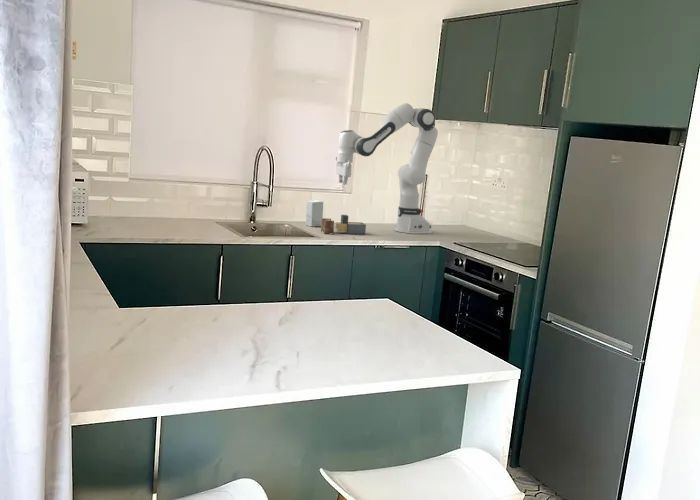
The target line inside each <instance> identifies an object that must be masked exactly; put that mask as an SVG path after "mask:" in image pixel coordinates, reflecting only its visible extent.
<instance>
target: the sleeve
mask: <svg viewBox="0 0 700 500" xmlns="http://www.w3.org/2000/svg"><path fill="white" fill-rule="evenodd" d="M348 223H361V224H348V232H345V233H346V234H347V235H357V234H359V235H360V236H361V235H363V236H364V235H366V232H367V230H366V228H367V224H365V223H363V222H355V221H352V222H351V221H348ZM359 235H358V236H359Z"/></svg>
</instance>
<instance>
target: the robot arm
mask: <svg viewBox="0 0 700 500" xmlns="http://www.w3.org/2000/svg"><path fill="white" fill-rule="evenodd" d="M381 124H382V126H381V127H380V128H379V129H378V130H376V131H375V132H374V133H373V134H372V135H370V136H368V137H363V136H361V135H359V134H358V133H356V132H355V131H354V130H353V129H351V130H349V129H346V130H342V131H341V132H340V133H339V137H338V144H337V145H338V150H337V155H336V157H335V161H336V170H335V171H336V174H337V175H338V183H340V184H343V185H345V186H347V183H348V179H349V178H351V176H352V163H353V159H354V154H357V155H360V156H361V157H370V156H371V155H373V154H374V152H375V151H376V149H377V147H378V146H379V145H380V144H382V143H383V142H384V141H385V140H386V139H387V138H389V137H390V136H391V135H393V134H394V133H396V132H397V131H399V130H400V129H402V128H403V127H404V126H406V125H407V124H409V125H410V126H412V127H415V128H418V134H417V136H416V139H415V141H414V144H413V146H412V149H411V151H410V159H409V163H407V164H404V165H401V166H400V167H399V168H398V170H397V176H398V180H399V181H398V183H399V206H398V207H397V208H398V209H397V220H396V221H397V222H396V225H395V227H394V231H396V232H400V233H406V234H409V235H410V234H411V235H412V234H414V235H415V234H417V235H420V234H422V235H423V234H425V235H426V234H431V235H432V234H433V230H432V229H430V223H429V221H428V220H427V219H426V218H425V217H424V216H423V215H422V214H423V213H424V212H425V211H424V210H423V209H422V208H421V209H420V208H419V201H420V193H419V189H418V185H421V184H423V183H424V181H425V180H426V177H427V174H426V172H427V167H428V163H429V159H430V157H431V154H432V152H433V149H434V147H435V145H436V142H437V140H438V139H437V138H438V134H439V132H438V131H439V130H438V129H437V128H436V127H435V126H436V114H435V112H434V111H432V110H431V109H430V108H421V107H420V108H414V107H413V106H412V105H411V104H409V103H402V104H400V105H398V106H397V107H395V108H393V109H392V110H391V111H389V112H388V113H387V114H386V115H384V117H383V118H382V122H381Z"/></svg>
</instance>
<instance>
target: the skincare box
mask: <svg viewBox="0 0 700 500" xmlns="http://www.w3.org/2000/svg"><path fill="white" fill-rule="evenodd" d="M305 212H306V214H305V215H306V216H305V226H307V225H308V227H310V226H315V227H321V223H322V218H324V217H323V216H324V215H323V214H324V201H322V200H319V199H315V200H306V211H305Z"/></svg>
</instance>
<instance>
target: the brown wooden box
mask: <svg viewBox="0 0 700 500" xmlns="http://www.w3.org/2000/svg"><path fill="white" fill-rule="evenodd" d="M334 226H335V220H332V218H325V217H323V218H322V223H321V226H320V232H322V231H323V232H324V233H333V234H334V228H335V227H334ZM323 232H322V233H323ZM324 233H323V234H324Z"/></svg>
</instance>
